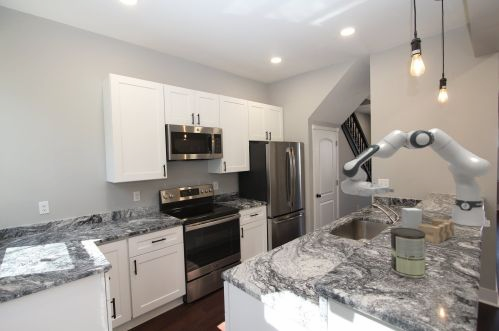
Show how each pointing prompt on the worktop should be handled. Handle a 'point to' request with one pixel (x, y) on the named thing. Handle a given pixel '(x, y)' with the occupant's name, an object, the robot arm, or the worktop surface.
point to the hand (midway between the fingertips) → (390, 191)
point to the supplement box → (411, 218)
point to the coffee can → (408, 252)
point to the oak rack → (437, 230)
